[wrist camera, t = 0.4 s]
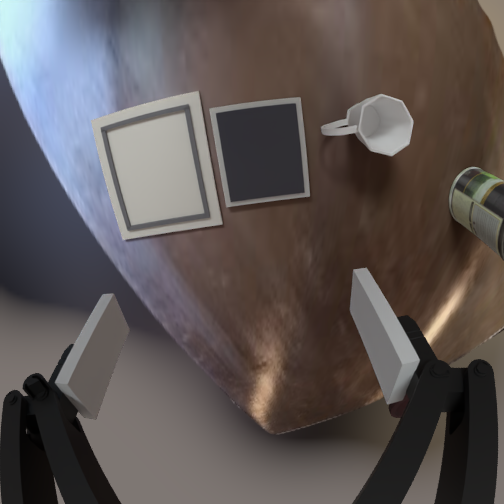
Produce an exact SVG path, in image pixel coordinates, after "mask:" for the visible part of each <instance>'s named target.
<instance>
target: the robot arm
mask: <svg viewBox="0 0 504 504" xmlns="http://www.w3.org/2000/svg"><path fill="white" fill-rule="evenodd" d="M350 312H351V314H352V317H353V319H354V321H355V324H356V326H357V329H358V331H359V333H360V336H361V338H362V341H363V343H364V346H365V348H366V351H367V353H368V356H369V358H370V361H371V363H372V366H373V368H374V371H375V374H376V376H377V379H378V381H379V384H380V387H381V389H382V392H383V395H384V398H385V400H386V403H387V404H391V403H395V402H398V401H402V400H403V399H404V396H405V394H407V396H408V398H409V401H408V403H407V405H406V407H405V409H404V411H403V415H402V417H401V419H400V421H399V423H398V425H397V427H396V429H395V432H394V433H393V435H392V437H391V439H390V441H389V443H388V445H387V447H386V449H385V451H384V453H383V454H382V456H381V458H380V460H379V461H378V463H377V465H376V467H375V468H374V470H373V472H372V474H371V475H370V477H369V478H368V480H367V482H366V483H365V485H364V486H363V488H362V490H361V491H360V493H359V495H358V496H357V497H356V499H355V500H354V502H353V503H352V504H401V503H402V501H403V499H404V497H405V495H406V494H407V492H408V490H409V488H410V486H411V484H412V482H413V480H414V478H415V476H416V473H417V472H418V469H419V467H420V465H421V463H422V461H423V458H424V456H425V454H426V451H427V449H428V446H429V444H430V442H431V439H432V436H433V434H434V431H435V429H436V426H437V423H438V420H439V417H440V414H441V412H447V417H446V430H445V441H444V450H443V458H442V465H441V472H440V478H439V484H438V489H437V494H436V499H435V503H434V504H494V498H495V489H496V478H497V464H498V463H497V462H498V418H497V400H496V389H495V380H494V372H493V369H492V366H491V365H490V364H489V363H488V362H486V361H484V360H481V359H478V360H474V361H472V362H471V363H470V364H469V366H468V368H451V367H450V366H449V365H448V364H447V363H446V362H444V361H442V360H438V359H437V357H436V356H435V354H434V352H433V350H432V349H431V347H430V345H429V344H428V342H427V340H426V338H425V337H424V335H423V333H422V332H421V331H420V328H419V327H418V325H417V324H416V322H415V321H414V320H413V319H411V318H410V317H409V316H407V315H406V316H401V317H396V316H395V314H394V312H393V310H392V309H391V307H390V305H389V304H388V302H387V300H386V298H385V297H384V295H383V293H382V292H381V290H380V289H379V287H378V285H377V284H376V282H375V280H374V279H373V277H372V276H371V274H370V272H369V271H368V269H367V268H361V269H354V270H353V279H352V291H351V302H350ZM128 333H129V327H128V325H127V323H126V321H125V319H124V316H123V314H122V312H121V309H120V307H119V305H118V302H117V300H116V298H115V295H114V294H103V295H102V297H101V298H100V300H99V302H98V303H97V305H96V307H95V308H94V310H93V312H92V314H91V315H90V317H89V319H88V321H87V322H86V324H85V326H84V328H83V329H82V331H81V333H80V335H79V337H78V339H77V341H76V342H75V344H71V345H70V346H69V347H68V348H67V349H66V350H65V351H64V353H63V355H62V356H61V359H60V360H59V362H58V365H57V366H56V368H55V370H54V372H53V374H52V376H51V378H50V380H49V382H47V381H46V380H45V378H44V377H43V376H42V375H41V374H39V373H35V374H32V375H30V376H29V377H27V379H26V380H25V381H24V384H23V390H24V391H25V392H26V393H27V394H28V396H23V395H22V394H21V393H20V392H19V391H18V390H13V391H11V392H9V393H8V394H7V395H6V397H5V399H4V402H3V412H2V422H1V438H0V484H1V499H2V504H58V500H57V494H56V489H55V482H54V477H55V480H56V482H57V485H58V487H59V490H60V493H61V495H62V497H63V500H64V502H65V504H121V502H120V501H119V499H118V498H117V496H116V494H115V492H114V491H113V489H112V487H111V486H110V484H109V482H108V480H107V478H106V476H105V474H104V473H103V471H102V469H101V467H100V465H99V463H98V461H97V459H96V457H95V455H94V453H93V451H92V449H91V446H90V444H89V442H88V440H87V437H86V435H85V433H84V431H83V428H82V426H81V424H80V421H79V419H78V418H77V417H76V415H77V412H79V413H80V414H81V415H82V416H83V417H84V418H89V419H95V420H96V419H97V416H98V413H99V410H100V407H101V404H102V401H103V398H104V396H105V393H106V390H107V387H108V385H109V382H110V379H111V376H112V374H113V371H114V368H115V366H116V363H117V361H118V358H119V355H120V353H121V350H122V348H123V345H124V343H125V340H126V338H127V335H128ZM26 429H27V434H26Z"/></svg>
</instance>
